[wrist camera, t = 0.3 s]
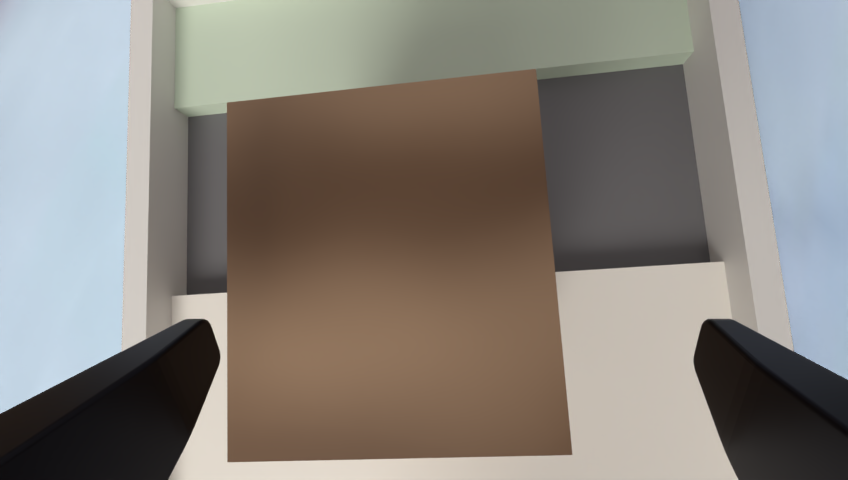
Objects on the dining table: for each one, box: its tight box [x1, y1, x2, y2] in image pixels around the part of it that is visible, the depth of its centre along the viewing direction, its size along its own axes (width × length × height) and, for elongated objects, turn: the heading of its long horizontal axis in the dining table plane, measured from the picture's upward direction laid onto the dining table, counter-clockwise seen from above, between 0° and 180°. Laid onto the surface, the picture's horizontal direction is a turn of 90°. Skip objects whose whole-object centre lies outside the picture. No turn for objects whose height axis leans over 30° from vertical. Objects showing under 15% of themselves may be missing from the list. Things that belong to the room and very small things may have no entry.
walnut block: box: [227, 69, 572, 462], centre depth 17 cm, size 9×8×11 cm
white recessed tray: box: [122, 0, 794, 480], centre depth 22 cm, size 34×29×3 cm
